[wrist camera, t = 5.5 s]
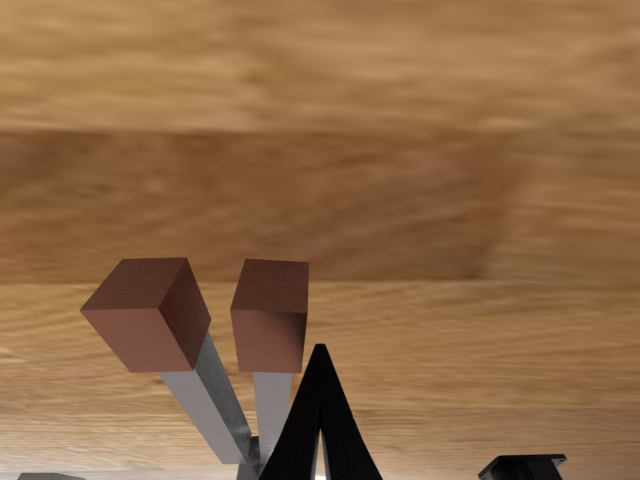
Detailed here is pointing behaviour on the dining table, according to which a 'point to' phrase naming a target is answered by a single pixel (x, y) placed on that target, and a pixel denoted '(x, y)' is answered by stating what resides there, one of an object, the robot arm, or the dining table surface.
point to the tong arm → (269, 345)
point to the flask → (47, 476)
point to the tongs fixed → (171, 344)
